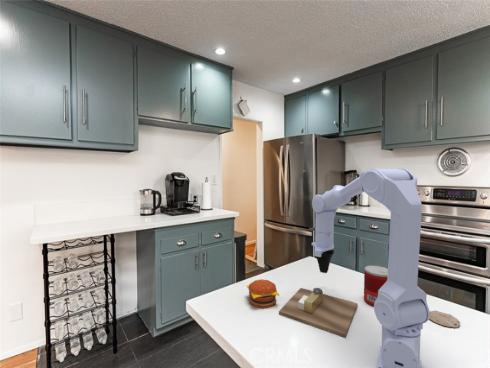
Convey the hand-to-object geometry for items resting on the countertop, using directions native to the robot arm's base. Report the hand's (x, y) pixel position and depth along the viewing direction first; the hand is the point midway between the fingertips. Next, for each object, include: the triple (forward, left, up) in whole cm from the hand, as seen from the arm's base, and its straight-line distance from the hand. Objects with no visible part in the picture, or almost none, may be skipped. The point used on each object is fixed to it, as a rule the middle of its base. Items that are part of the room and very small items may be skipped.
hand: (323, 272), depth 82 cm
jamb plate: (-6, 0, -10) cm, 12 cm away
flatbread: (+9, -32, -10) cm, 35 cm away
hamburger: (-11, +17, -10) cm, 23 cm away
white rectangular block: (-8, +4, -9) cm, 12 cm away
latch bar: (-6, +1, -9) cm, 11 cm away
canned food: (+9, -15, -10) cm, 20 cm away
